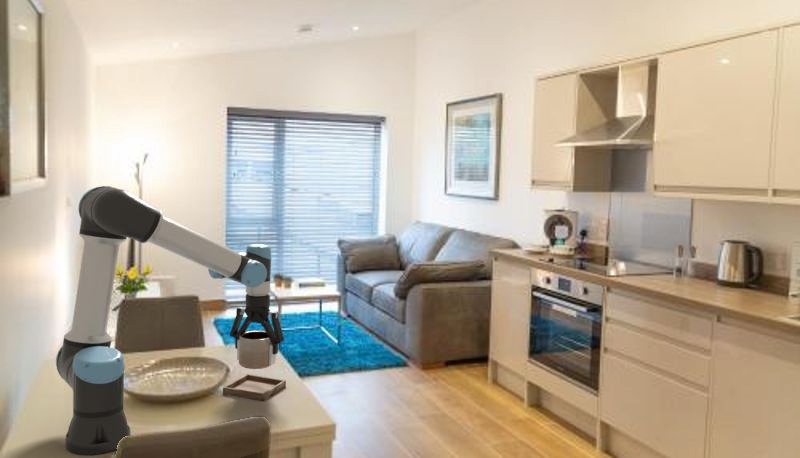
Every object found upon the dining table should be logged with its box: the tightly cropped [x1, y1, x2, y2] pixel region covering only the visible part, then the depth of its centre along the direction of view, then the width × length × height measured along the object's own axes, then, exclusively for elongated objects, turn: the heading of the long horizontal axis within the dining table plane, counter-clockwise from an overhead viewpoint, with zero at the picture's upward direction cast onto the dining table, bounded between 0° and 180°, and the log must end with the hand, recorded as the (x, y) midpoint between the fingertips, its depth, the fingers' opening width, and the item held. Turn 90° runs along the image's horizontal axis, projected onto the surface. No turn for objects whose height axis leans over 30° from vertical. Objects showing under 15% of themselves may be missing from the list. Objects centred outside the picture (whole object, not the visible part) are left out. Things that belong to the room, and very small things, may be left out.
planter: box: [238, 330, 272, 370], centre depth 209 cm, size 11×11×10 cm
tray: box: [222, 373, 287, 402], centre depth 210 cm, size 14×14×2 cm
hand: (256, 361), depth 209 cm, fingers closed on planter, 11 cm apart
